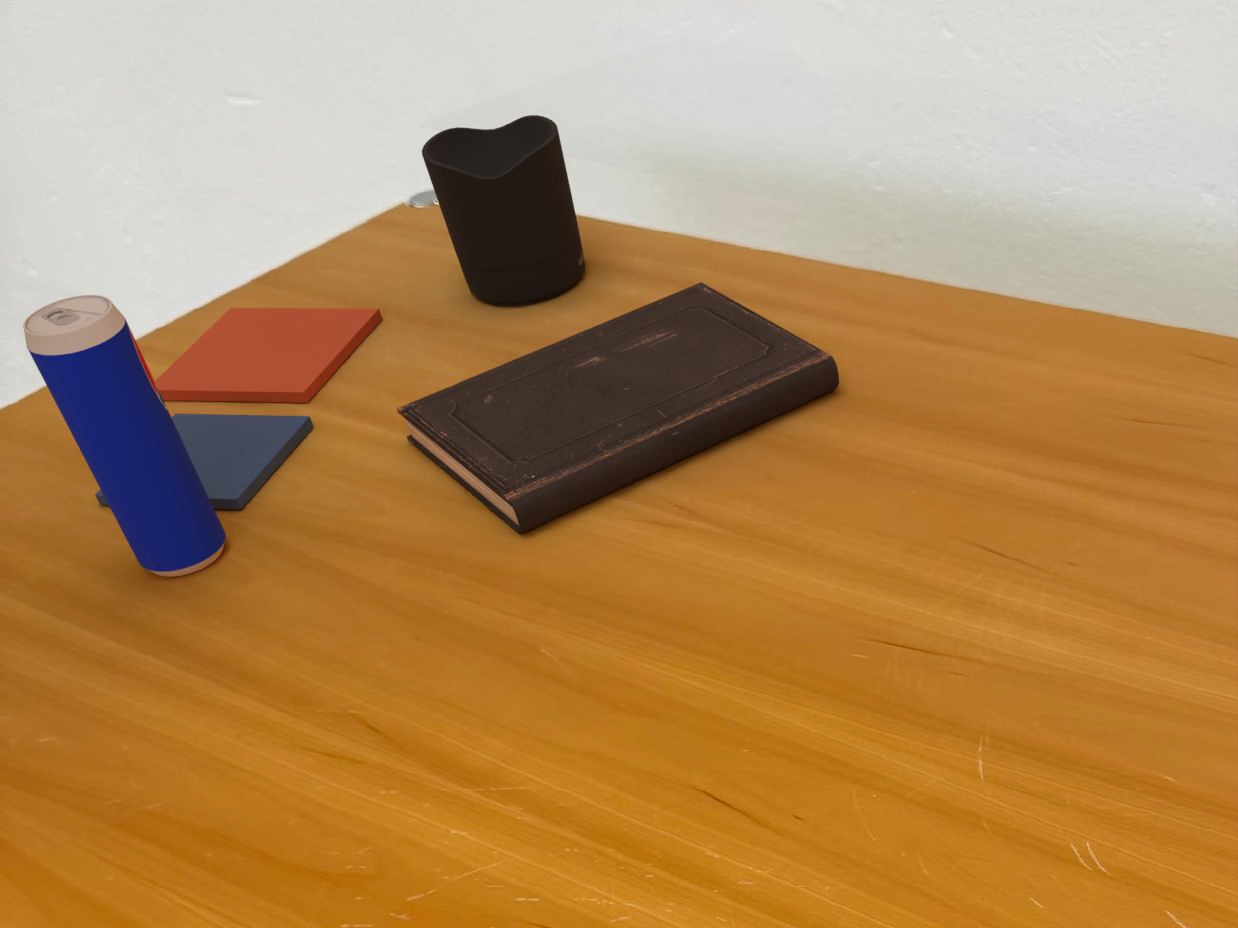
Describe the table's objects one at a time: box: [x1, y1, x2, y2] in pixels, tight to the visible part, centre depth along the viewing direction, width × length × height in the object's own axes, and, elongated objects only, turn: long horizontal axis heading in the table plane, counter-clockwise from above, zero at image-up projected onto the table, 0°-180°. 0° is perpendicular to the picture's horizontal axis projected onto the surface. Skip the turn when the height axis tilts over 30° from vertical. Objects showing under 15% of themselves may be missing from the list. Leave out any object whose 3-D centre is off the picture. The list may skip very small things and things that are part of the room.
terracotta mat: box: [154, 307, 383, 404], centre depth 114 cm, size 12×12×1 cm
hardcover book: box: [396, 281, 840, 534], centre depth 103 cm, size 16×23×2 cm
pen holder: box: [421, 114, 586, 307], centre depth 115 cm, size 9×9×10 cm
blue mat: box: [94, 413, 314, 511], centre depth 104 cm, size 10×10×1 cm
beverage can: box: [22, 294, 227, 578], centre depth 91 cm, size 5×5×15 cm
